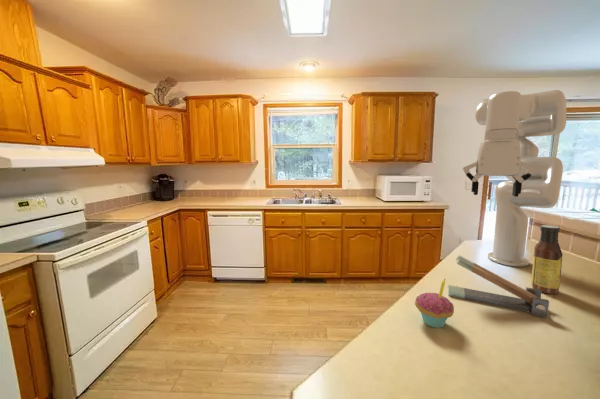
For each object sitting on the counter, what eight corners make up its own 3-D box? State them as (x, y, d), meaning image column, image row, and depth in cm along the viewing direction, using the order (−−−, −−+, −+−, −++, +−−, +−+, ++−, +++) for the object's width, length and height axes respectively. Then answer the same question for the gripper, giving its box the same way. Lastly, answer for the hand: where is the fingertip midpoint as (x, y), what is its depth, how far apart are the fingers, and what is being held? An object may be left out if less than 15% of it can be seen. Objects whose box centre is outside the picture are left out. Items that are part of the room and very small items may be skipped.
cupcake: (448, 315, 66) (451, 271, 64) (456, 336, 58) (460, 287, 57) (412, 309, 69) (414, 268, 67) (416, 329, 61) (418, 282, 59)
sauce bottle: (564, 295, 74) (573, 229, 71) (539, 294, 75) (547, 229, 72) (547, 285, 80) (555, 224, 77) (525, 283, 82) (531, 223, 79)
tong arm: (456, 258, 77) (459, 255, 76) (532, 299, 69) (535, 295, 69) (456, 263, 73) (459, 259, 73) (536, 306, 66) (540, 302, 65)
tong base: (448, 286, 81) (449, 273, 80) (537, 303, 70) (539, 288, 70) (448, 298, 74) (449, 284, 73) (547, 319, 63) (550, 302, 63)
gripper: (534, 137, 73) (527, 195, 75) (463, 140, 81) (459, 193, 83) (544, 134, 67) (537, 198, 69) (466, 137, 75) (462, 195, 77)
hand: (494, 195), depth 76 cm, fingers open, 9 cm apart
